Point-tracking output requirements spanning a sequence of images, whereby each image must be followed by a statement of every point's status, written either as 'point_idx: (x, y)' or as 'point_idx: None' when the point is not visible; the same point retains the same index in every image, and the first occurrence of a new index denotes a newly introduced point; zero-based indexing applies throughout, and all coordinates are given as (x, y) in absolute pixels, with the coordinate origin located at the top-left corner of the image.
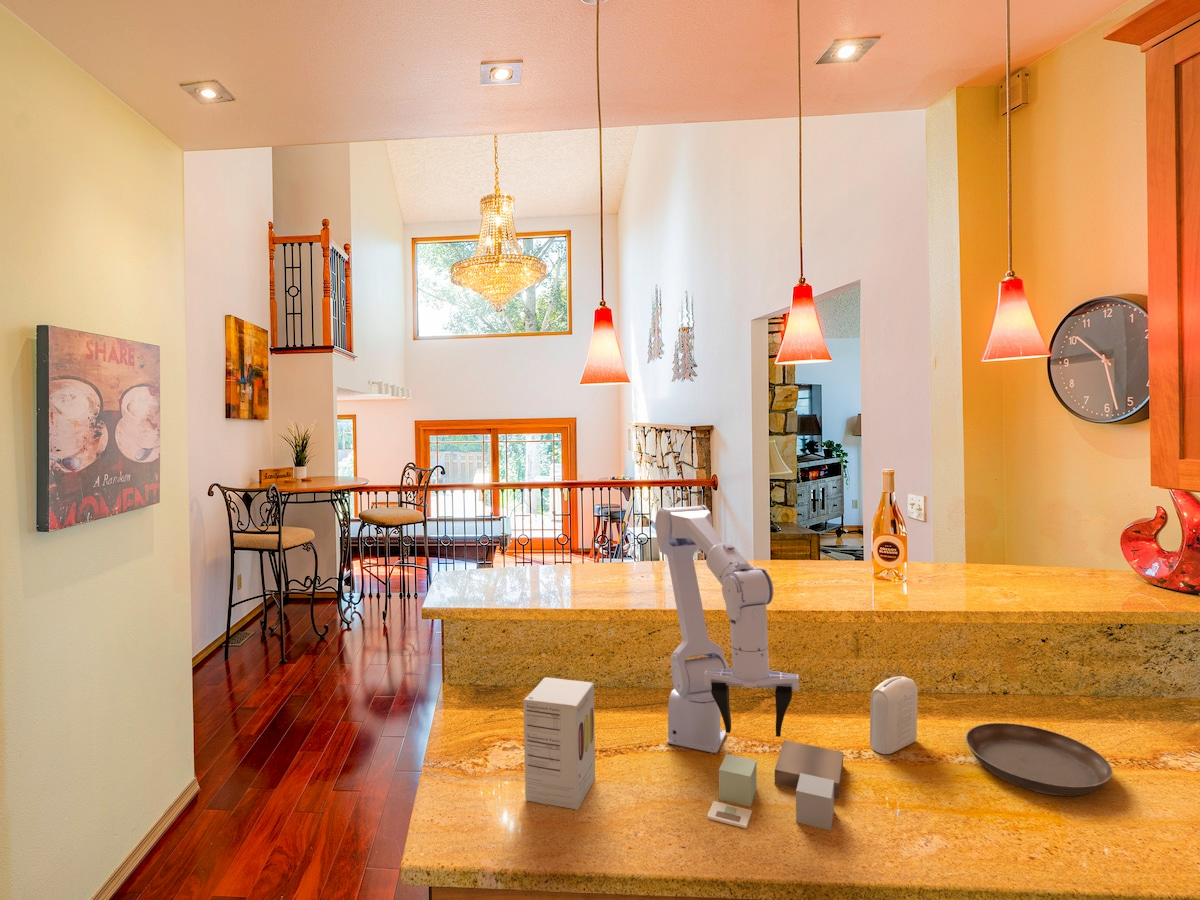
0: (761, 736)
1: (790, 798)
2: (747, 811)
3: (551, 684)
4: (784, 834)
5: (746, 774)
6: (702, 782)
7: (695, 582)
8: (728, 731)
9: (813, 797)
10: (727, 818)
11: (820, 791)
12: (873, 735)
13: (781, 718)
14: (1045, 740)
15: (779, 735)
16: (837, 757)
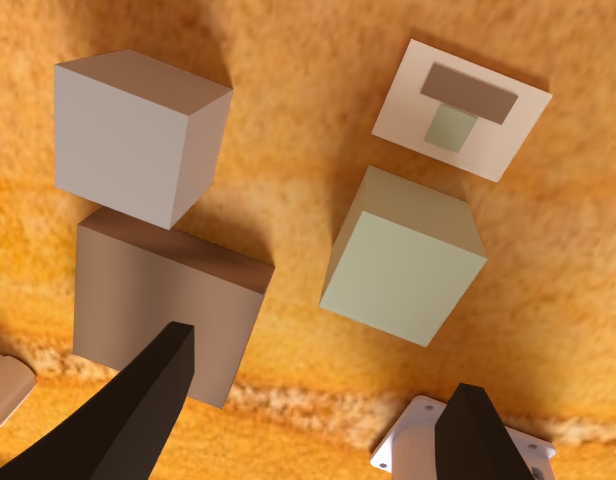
0: (281, 438)
1: (237, 204)
2: (388, 126)
3: None
4: (279, 14)
5: (377, 224)
6: (499, 283)
7: None
8: (473, 391)
9: (129, 88)
10: (476, 79)
11: (97, 114)
12: (6, 400)
13: (88, 411)
14: None
15: (170, 325)
16: (86, 334)
